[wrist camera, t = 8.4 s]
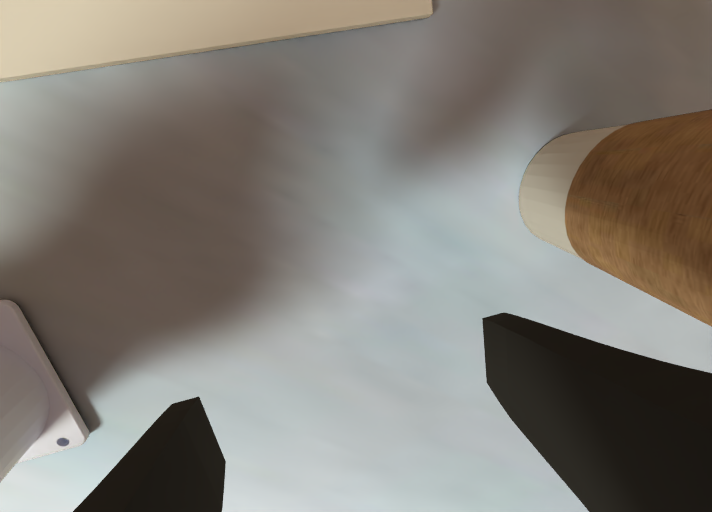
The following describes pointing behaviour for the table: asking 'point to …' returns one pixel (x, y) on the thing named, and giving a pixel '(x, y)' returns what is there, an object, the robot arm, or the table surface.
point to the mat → (168, 28)
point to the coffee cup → (632, 204)
